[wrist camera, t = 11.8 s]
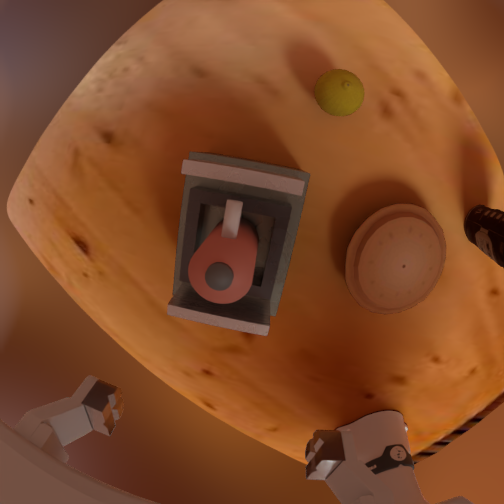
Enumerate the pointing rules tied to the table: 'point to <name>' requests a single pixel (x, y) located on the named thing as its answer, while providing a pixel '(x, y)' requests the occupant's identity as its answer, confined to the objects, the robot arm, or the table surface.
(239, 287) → the pink cylinder with stub
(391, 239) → the pie
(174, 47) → the table surface
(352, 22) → the table surface
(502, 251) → the coffee cup
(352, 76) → the lemon
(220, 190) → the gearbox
